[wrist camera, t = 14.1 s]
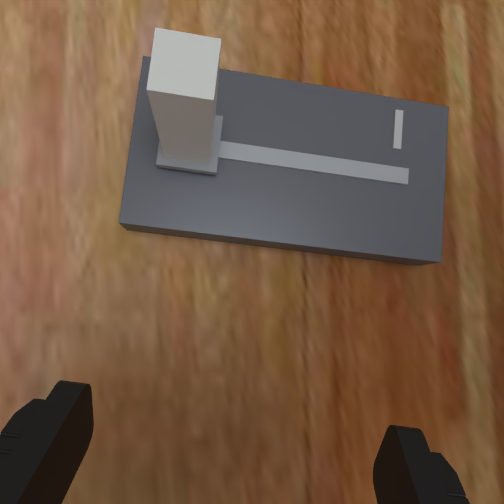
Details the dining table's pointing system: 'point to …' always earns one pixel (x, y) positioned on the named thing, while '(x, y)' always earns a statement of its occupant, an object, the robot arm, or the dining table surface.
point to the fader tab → (185, 100)
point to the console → (300, 172)
